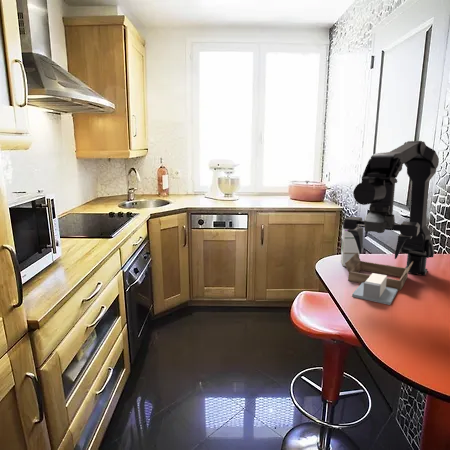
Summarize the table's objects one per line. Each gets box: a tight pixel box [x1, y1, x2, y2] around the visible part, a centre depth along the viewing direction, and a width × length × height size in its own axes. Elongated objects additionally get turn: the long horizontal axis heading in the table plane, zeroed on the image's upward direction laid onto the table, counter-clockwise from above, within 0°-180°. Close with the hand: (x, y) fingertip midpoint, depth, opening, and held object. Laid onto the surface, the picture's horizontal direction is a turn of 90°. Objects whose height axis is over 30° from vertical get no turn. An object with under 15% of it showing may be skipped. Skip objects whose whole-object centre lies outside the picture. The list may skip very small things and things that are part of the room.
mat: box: [351, 282, 399, 306], centre depth 99 cm, size 11×10×1 cm
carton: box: [345, 253, 414, 291], centre depth 110 cm, size 13×18×6 cm
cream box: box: [363, 272, 388, 300], centre depth 98 cm, size 10×4×4 cm, turn 144°
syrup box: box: [340, 224, 360, 267], centre depth 124 cm, size 6×6×14 cm
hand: (377, 255), depth 96 cm, fingers open, 9 cm apart
